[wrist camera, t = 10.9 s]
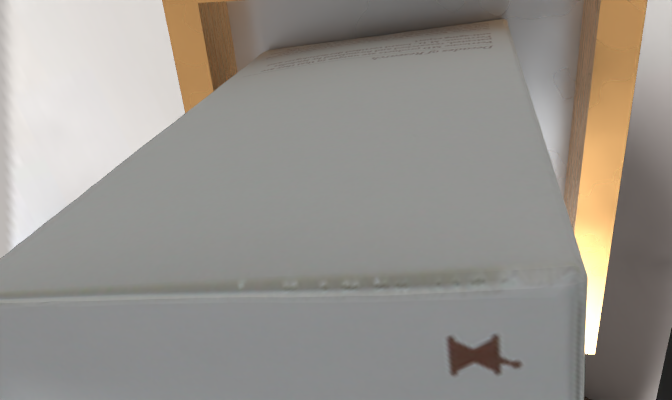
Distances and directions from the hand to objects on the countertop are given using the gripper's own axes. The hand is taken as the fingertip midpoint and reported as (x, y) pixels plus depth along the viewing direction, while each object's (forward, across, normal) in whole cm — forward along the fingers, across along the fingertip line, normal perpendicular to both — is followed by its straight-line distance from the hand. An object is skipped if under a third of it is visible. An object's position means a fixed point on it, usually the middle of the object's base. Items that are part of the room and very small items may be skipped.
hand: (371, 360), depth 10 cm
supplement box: (+10, +1, 0) cm, 10 cm away
